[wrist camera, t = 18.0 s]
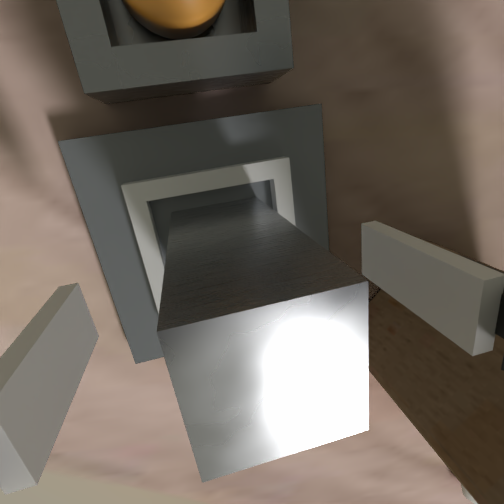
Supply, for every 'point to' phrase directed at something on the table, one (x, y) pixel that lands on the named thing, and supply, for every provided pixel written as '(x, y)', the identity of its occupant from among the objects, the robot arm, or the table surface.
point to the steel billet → (260, 336)
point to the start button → (175, 16)
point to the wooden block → (443, 392)
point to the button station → (175, 50)
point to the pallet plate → (189, 194)
